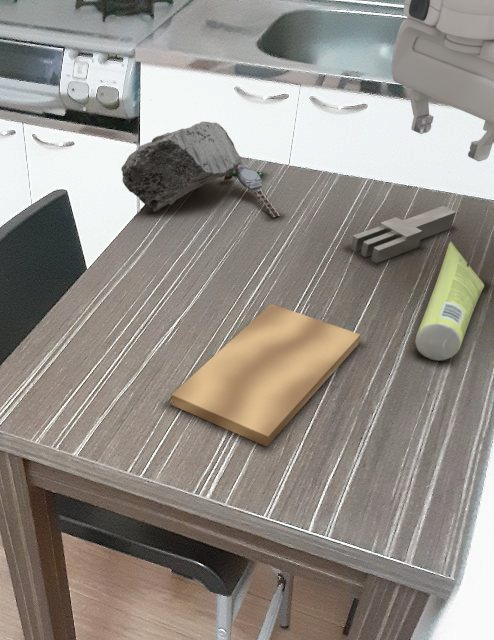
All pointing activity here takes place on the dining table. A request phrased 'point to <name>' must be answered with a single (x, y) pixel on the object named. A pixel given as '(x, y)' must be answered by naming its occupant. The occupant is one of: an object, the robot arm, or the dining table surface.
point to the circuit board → (257, 173)
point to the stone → (179, 163)
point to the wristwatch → (253, 185)
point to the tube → (449, 308)
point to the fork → (401, 234)
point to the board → (266, 373)
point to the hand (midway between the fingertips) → (447, 144)
